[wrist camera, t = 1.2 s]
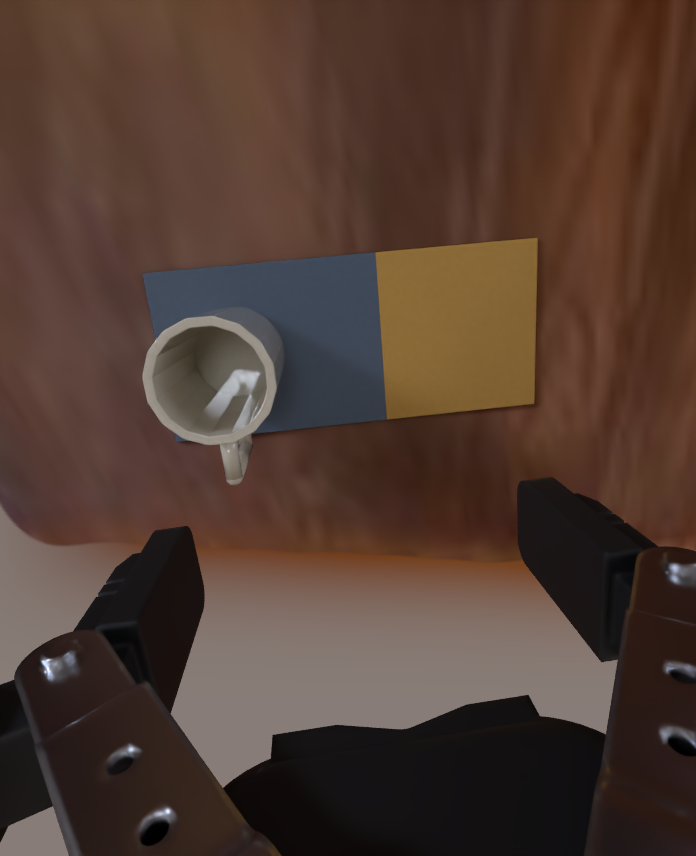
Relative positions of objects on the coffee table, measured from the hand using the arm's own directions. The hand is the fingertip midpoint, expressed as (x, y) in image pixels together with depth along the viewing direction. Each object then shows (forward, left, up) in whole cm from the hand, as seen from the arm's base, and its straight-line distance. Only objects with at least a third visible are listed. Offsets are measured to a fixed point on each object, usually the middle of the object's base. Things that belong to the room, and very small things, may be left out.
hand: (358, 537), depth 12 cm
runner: (-2, +2, -22) cm, 22 cm away
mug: (0, -6, -22) cm, 23 cm away
